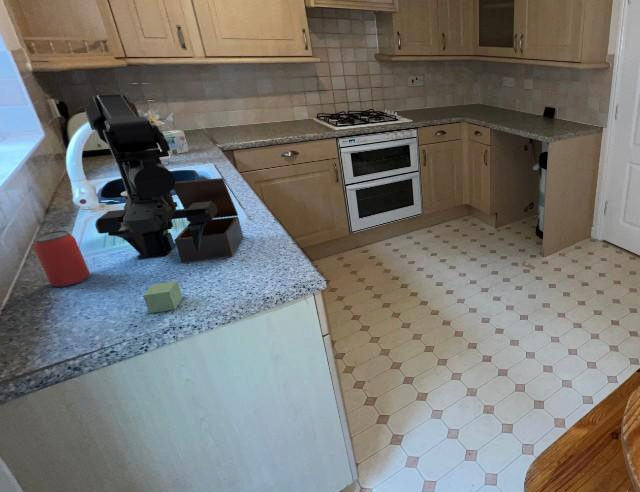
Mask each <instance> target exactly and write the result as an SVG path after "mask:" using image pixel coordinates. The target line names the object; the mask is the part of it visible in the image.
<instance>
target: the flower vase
mask: <svg viewBox="0 0 640 492" xmlns="http://www.w3.org/2000/svg"><path fill="white" fill-rule="evenodd" d="M137 111H138V114H139V116H140V117H145V118H147V119H148V120H149V121H150V122H151V123H152V125H156V126H158V127H160V126H161V125H165V122H166V123H167V124H168V125H169V126H170V127H171V129H172V130H173V128H174V127H173V122H174V118H173V114H174V112H171V113H170V115H169V116H168V117H167V116H163V115H162V111H161V110H159V109H157V110H155V111H153V110H152V109H148V110H147V113H146V112H145V111H142V110H140V109H137ZM164 121H165V122H164ZM157 144H158V143H157ZM158 147H159V145H158ZM158 149H160V147H159V148H158ZM151 150H153V149H151ZM160 152H161V149H160ZM168 154H169V153H168ZM171 158H172V155H170V154H169V156H167V157H160V160H161V163H162V164H163V166H165V165H168V164H169V161H170V160H171Z"/></svg>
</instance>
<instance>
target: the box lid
mask: <svg viewBox="0 0 640 492" xmlns="http://www.w3.org/2000/svg"><path fill="white" fill-rule="evenodd" d="M173 191H174V192H175V194H176V196H177V198H178V200H179V202H180V203H181V206H182V207H183V209H188V208H189V207H190V206H191V205H192V204H193V203H199V202H209V201H212V202H213V203H214V204H215V205H216V207H217V210H218V213H217V214H216V215H215V217H214V218H213V219H220V218H229V217H239V213H238V211H237V209H236V206H235V203H234V202H233V201H234V200H233V199H232V197H231V194H230V192H229V189H228V187H227V184H226V182H225V180H224V178H223V177H219V178H207V179H204V178H203V179H193V180H182V181H181V180H180V181H175V186H174V187H173Z"/></svg>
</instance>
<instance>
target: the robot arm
mask: <svg viewBox="0 0 640 492" xmlns="http://www.w3.org/2000/svg"><path fill="white" fill-rule="evenodd" d="M92 97H93V100H92V101H91V102H89V103H88V104H87V105H86V106H84V112H85V116H86V119H87V122H88V124H89V127H90V129H91V130H92V131H95V132H96V134H97V136H98V137H99V139H100V140H101V141H102V142H104V143H105V144H107V146H108V149H109V150H110V153H111V155H112V157H113V159H114V161H115V163H116V166H117V168H118V171H119V175H120V177H121V180H122V183H123V186H124V188H125V191H126V192H127V195H128V200H126V201H125V203H124V206H123V209H115V210H108V211H106V212H105V213H104V214H102V216H100V217H98V218H97V219H96V220H95V224H94V226H95V228H96V231H97V233H98V234H101V235H102V234H107V235H108V236H109V237H117V238H121V239H122V240H124V241H125V242H127V243H128V244H129V245H130V246H131V247H132V248H133V249H134V250H135V251H137V253H138V255H136V256H137V259H145V258H153V257H161V256H167V255H169V253H170V252H171V251H172V250H173V249H174V248H175V247H176V244H175V241H174V238H173V235H172V233H171V232H169V230H172V229H173V227H174V224H173V220H179V219H186V220H187V222H189V223H188V224H189V225H188V224H187V226H188V227H189V229H190V230H191V234H192V239H193V243H194V247H195V249H196V250H199V248H200V243H201V238H202V232H203V228H204V225H206V223H207V222H209V221H212V219H215V218H214V217H215V215H216V214H217V213H218V210H217V207H216V205H215V204H214V203H213V202H212V201H209V202H199V203H193V204H192V205H191V206H190V207H189V208H188V209H184V208H181V209H180V208H179V209H177V208H178V207H179V205H178V201H174V197H173V195H172V190H174V188H173V187H174V186H175V182H176V178H175V176H174V174H173V173H172V171H170V169H168V168H167V167H166V166H165V165H163V164H162V163H161V160H160V157H167V156H169V154H168V151H170V148H169V145H168V143H167V141H166V139H165V137H164V135H163V133H162V132H163V130H162V129H160V128H159V125H157V124H154V125H152V123H151V122H150V121H149V120H148V119H147V118H145V117H140V116H139V114H138V111H137V110H138V109H137V107H136V104H135V103H134V102H131V101H129V100H128V99H127V97H126V95H125V94H121V93H119V92H118V93H100V94H96V95H93V96H92ZM157 143H158V144H157ZM158 145H159V147H160V149H161V152H160V149H158V148H159V147H158ZM151 149H153V150H151Z"/></svg>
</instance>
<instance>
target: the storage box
mask: <svg viewBox="0 0 640 492" xmlns="http://www.w3.org/2000/svg"><path fill="white" fill-rule="evenodd" d="M188 225H189V223H188V224H187V225H186V226H185V227H184V229H183V230H182V231H181V232H180V233H179V234H178V235H177V236H176V237H175V238H174V239H173V241H174V243H175V244H176V245H175V247H176V250H177V253H178V257H179V258H180V262H181V264H185V263H192V262H199V261H207V260H214V259H216V260H217V259H224V258H230V257H231V258H232V257H234V255H235V253H236V251H237V249H238V248H239V246H240V244H241V242H242V241H243V239H244V234H243V230H242V226H241V223H240V218H239V216H231V217H222V218H213V219H212V221H209V222H207V223H206V225H204V228H203V232H202V238H201V243H200V248H199V250H196V249H195V247H194V243H193V239H192V234H191V230H190V229H189V227H188Z"/></svg>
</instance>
